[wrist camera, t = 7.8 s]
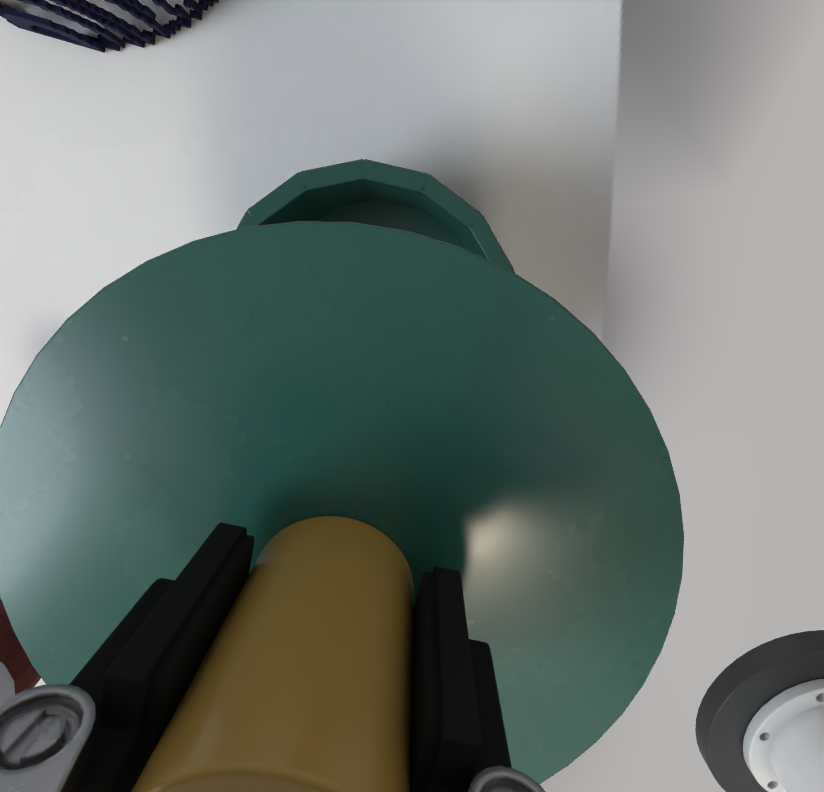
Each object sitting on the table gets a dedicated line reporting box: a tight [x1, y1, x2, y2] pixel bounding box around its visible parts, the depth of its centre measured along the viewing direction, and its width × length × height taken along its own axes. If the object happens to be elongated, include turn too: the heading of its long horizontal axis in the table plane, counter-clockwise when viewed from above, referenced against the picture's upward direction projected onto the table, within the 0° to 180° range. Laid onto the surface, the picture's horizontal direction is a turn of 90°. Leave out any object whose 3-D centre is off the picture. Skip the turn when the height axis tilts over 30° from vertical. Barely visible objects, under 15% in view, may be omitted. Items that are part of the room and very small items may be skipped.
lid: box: [0, 221, 684, 792], centre depth 9 cm, size 16×16×7 cm
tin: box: [236, 159, 515, 273], centre depth 27 cm, size 15×15×8 cm
